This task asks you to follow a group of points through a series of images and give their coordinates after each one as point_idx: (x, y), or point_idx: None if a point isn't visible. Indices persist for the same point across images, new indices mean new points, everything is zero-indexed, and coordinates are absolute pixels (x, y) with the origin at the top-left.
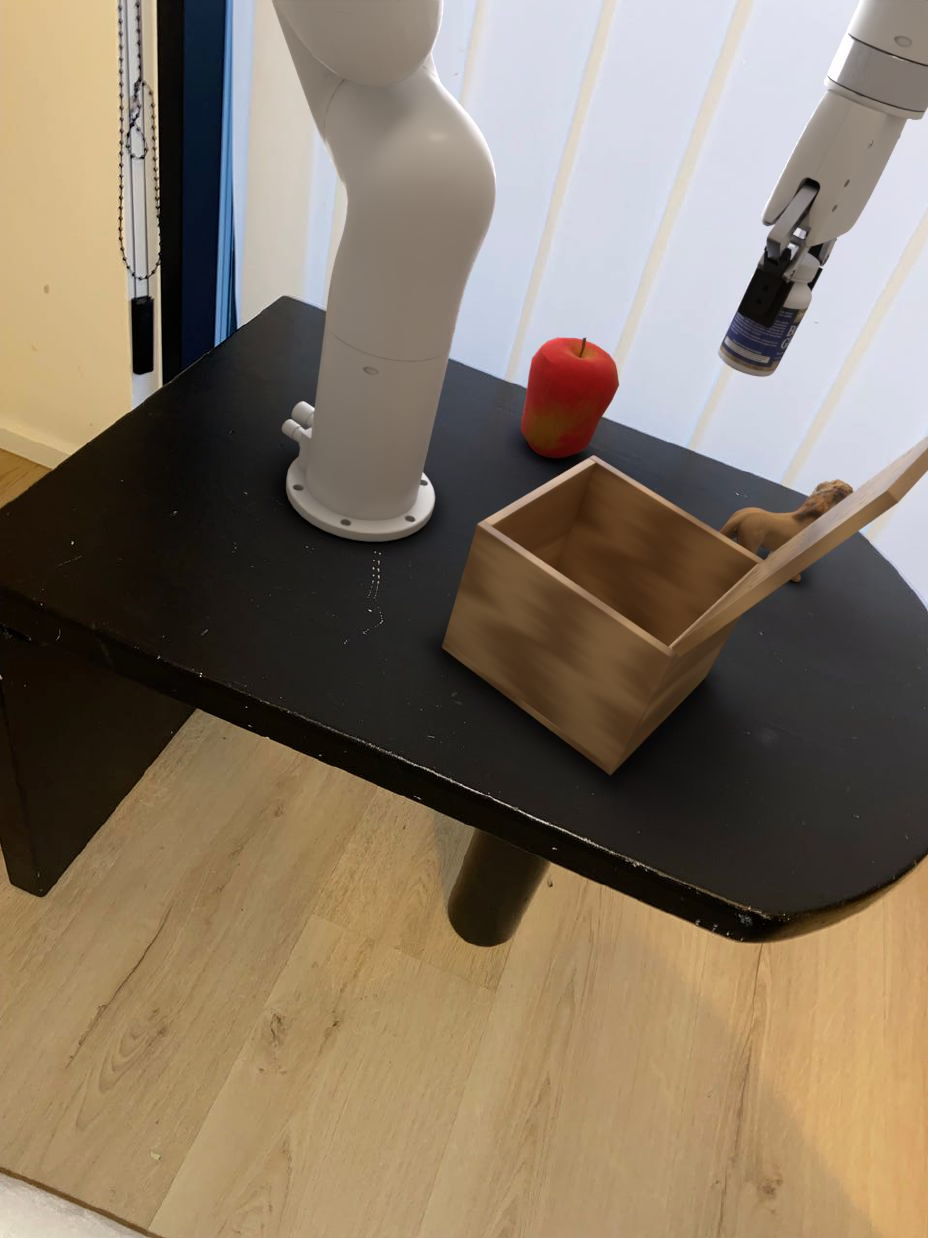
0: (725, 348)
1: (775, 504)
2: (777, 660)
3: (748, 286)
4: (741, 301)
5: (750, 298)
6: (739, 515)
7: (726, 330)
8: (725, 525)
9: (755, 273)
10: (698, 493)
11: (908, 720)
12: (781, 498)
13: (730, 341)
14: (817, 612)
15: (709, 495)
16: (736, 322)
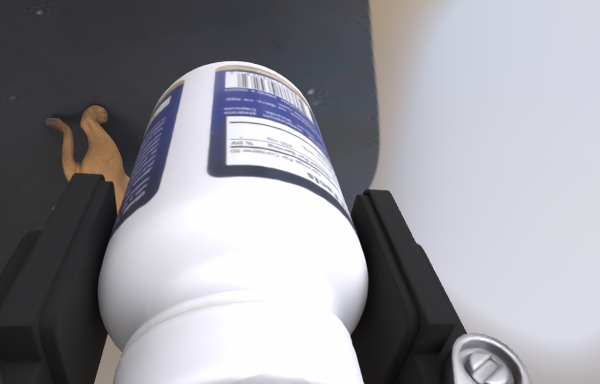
0: (157, 106)
1: (330, 140)
2: None
3: (38, 239)
4: (65, 192)
5: (14, 251)
6: (70, 178)
7: (190, 93)
8: (63, 158)
9: (8, 296)
10: (260, 45)
11: None
12: (352, 141)
13: (150, 123)
14: None
15: (270, 61)
16: (148, 142)
